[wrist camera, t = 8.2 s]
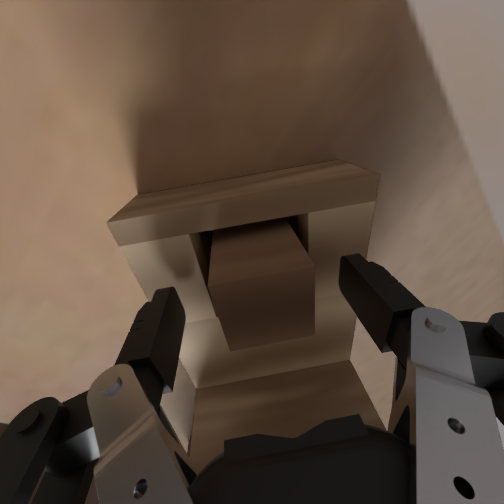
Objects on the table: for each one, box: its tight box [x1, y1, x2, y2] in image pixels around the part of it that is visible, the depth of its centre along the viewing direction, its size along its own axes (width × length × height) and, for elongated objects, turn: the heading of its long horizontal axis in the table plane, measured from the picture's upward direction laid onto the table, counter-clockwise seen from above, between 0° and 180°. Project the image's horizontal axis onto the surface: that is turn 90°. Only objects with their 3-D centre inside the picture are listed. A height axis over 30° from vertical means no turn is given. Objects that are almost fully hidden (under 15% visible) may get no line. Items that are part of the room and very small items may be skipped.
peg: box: [208, 217, 315, 352], centre depth 12 cm, size 4×4×7 cm
